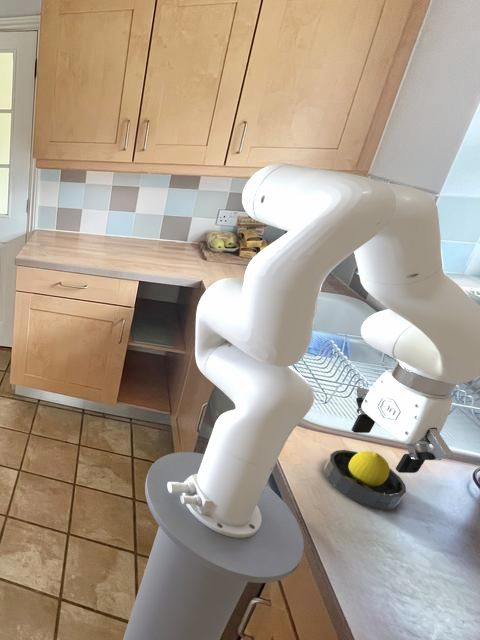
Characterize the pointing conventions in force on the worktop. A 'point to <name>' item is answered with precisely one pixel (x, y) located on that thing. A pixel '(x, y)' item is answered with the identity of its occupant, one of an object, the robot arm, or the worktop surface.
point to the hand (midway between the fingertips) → (381, 450)
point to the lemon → (369, 468)
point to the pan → (372, 497)
